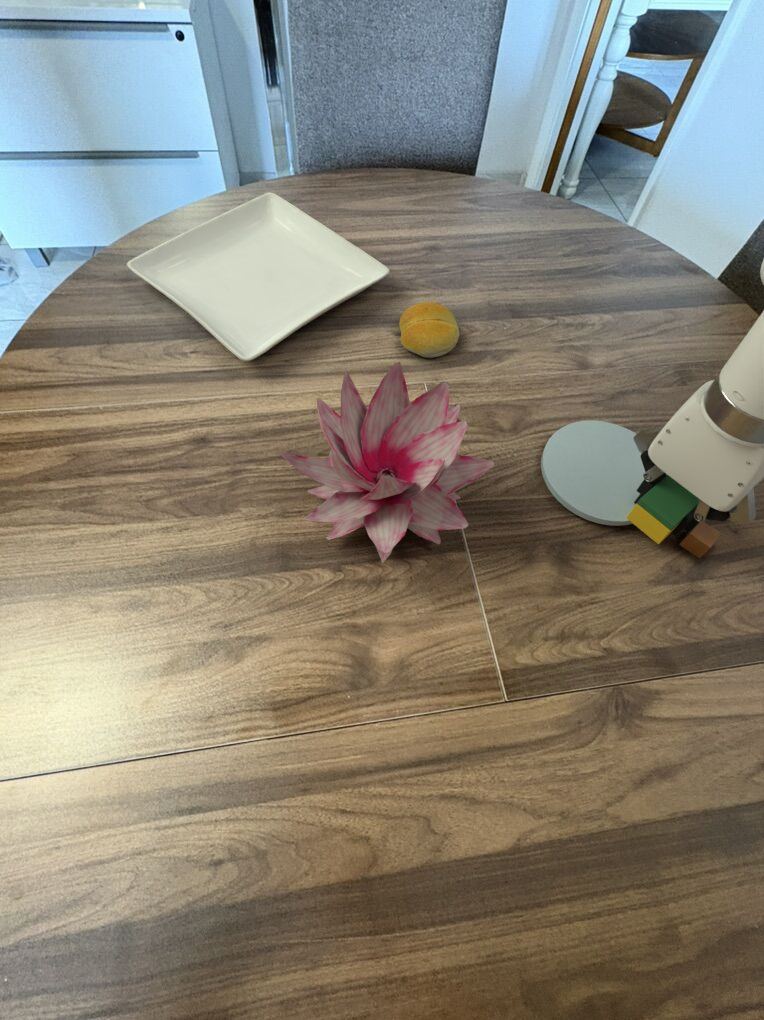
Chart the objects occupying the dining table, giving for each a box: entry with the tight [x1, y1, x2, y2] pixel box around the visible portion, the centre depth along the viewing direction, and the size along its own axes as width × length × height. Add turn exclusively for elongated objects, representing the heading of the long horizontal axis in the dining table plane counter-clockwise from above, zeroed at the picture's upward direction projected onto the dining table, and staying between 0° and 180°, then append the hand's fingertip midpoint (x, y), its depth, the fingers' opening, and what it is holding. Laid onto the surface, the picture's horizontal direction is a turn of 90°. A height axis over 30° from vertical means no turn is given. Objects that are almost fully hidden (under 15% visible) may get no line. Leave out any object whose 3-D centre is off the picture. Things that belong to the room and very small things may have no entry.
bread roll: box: [398, 301, 460, 359], centre depth 85 cm, size 8×9×4 cm
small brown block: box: [678, 521, 722, 559], centre depth 69 cm, size 3×3×3 cm
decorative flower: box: [279, 361, 495, 564], centre depth 65 cm, size 21×21×15 cm
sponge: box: [626, 474, 700, 545], centre depth 69 cm, size 8×4×4 cm, turn 131°
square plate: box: [125, 192, 391, 362], centre depth 89 cm, size 27×27×4 cm
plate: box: [540, 419, 668, 527], centre depth 74 cm, size 15×15×2 cm
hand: (662, 512), depth 70 cm, fingers closed on sponge, 4 cm apart
